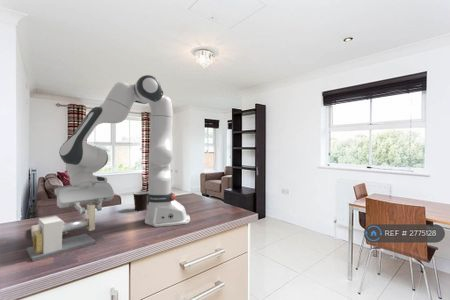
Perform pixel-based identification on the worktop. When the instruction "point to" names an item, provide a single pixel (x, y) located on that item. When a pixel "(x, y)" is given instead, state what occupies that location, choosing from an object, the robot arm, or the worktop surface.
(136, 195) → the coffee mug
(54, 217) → the bearing housing
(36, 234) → the brass collar
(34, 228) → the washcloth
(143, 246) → the worktop surface
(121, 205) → the worktop surface
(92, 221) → the shaft
